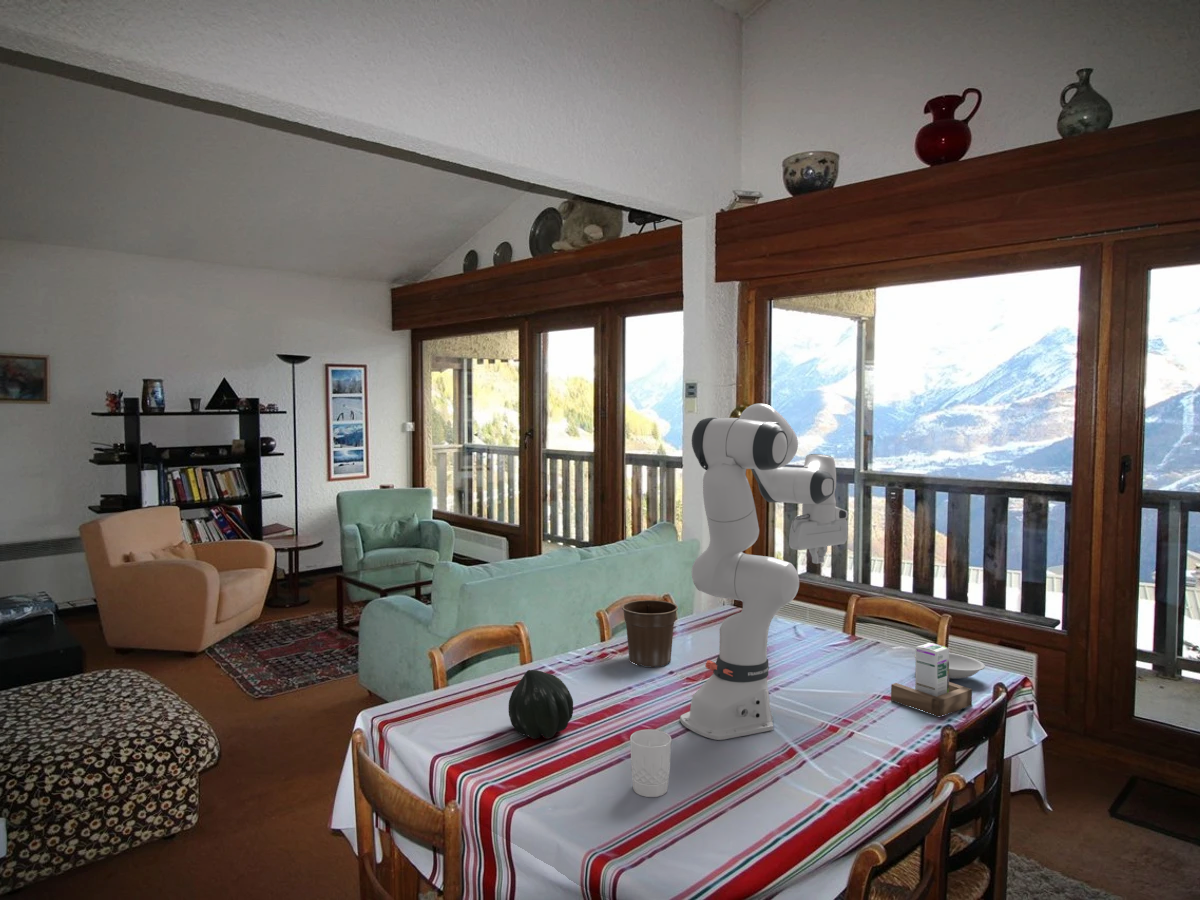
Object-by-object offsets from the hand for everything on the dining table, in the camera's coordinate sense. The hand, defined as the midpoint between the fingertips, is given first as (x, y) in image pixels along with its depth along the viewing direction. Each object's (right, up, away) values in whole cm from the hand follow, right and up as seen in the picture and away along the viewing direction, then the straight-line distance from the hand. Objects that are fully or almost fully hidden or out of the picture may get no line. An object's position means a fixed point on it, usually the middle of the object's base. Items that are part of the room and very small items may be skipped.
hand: (817, 562), depth 205 cm
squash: (-73, -33, -36) cm, 88 cm away
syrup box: (+23, -32, -19) cm, 44 cm away
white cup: (-50, -34, -62) cm, 87 cm away
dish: (+35, -32, -1) cm, 47 cm away
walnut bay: (+23, -32, -19) cm, 44 cm away
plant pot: (-46, -31, +12) cm, 56 cm away
